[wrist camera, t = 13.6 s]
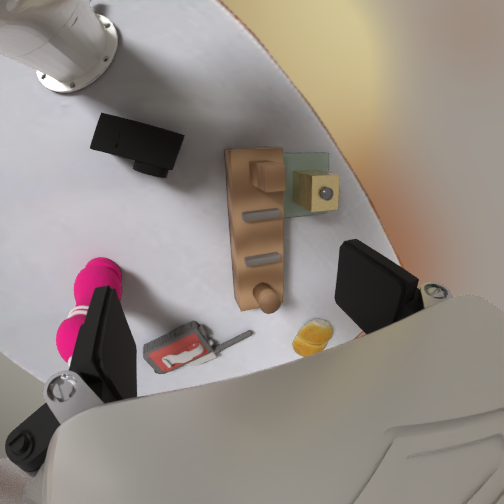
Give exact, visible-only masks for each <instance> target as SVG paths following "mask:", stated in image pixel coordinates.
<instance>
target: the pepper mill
mask: <svg viewBox="0 0 504 504" xmlns="http://www.w3.org/2000/svg"><path fill="white" fill-rule="evenodd" d="M121 280H122V275H121V271H120V269H119V267H118V266H117V265H116V264H115V263H114V262H113V261H111V260H109V259H107V258H102V257H99V258H95V259H92V260H91V261H89V262H88V264H87V265H86V267H85V268H84V269H83V270H81V271H80V273H79V274H78V275H77V277H76V280H75V284H74V296H75V300H76V307H75V308H73V309H72V310H71V311H70V312H69V315H68V317H67V319H66V320H64V321H63V322H62V323H61V325H60V326H59V328H58V331H57V335H56V345H57V349H58V351H59V353H60V355H61V357H62V358H63V359H64V360H65V361H66V362H67V363H68V366H69V367H70V363H71V359H72V355H73V351H74V347H75V343H76V339H77V336H78V332H79V329H80V326H81V324H84V321H85V318H86V315H87V311H88V308H89V305H90V302H91V298H92V295H93V292H94V289H95V288H96V287H102V286H107V285H109V286H110V287H111V289H112V288H115V289H116V291H117V294H118V297H119V300H120V299H121V296H122V287H121Z"/></svg>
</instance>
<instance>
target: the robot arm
mask: <svg viewBox="0 0 504 504" xmlns="http://www.w3.org/2000/svg"><path fill="white" fill-rule="evenodd" d="M90 2H91V0H0V54H2V55H4V56H6V57H9V58H11V59H13V60H15V61H17V62H20V63H22V64H24V65H26V66H28V67H30V68H32V69H35V70H36V72H37V76H38V78H39V80H40V82H41V83H42V84H43V85H44V86H45V87H46V88H48V89H50V90H52V91H55V92H60V93H69V92H73V91H77V90H80V89H82V88H84V87H86V86H88V85H89V84H91V83H93V82H94V81H95V80H96V79H98V78H99V77H100V76H101V75H102V74H103V73H104V72H105V71H106V69H107V68H108V67H109V65H110V64H111V62H112V60H113V58H114V56H115V53H116V50H117V46H118V34H117V31H116V28H115V26H114V24H113V23H112V22H111V21H110V20H109V19H108V18H106V17H105V16H103V15H100V14H95V13H94V11H93V10H92V7H91V6H90ZM108 27H109V28H108ZM106 59H108V61H106V62H105V60H106ZM45 77H46V78H45ZM75 84H76V85H75ZM74 85H75V87H73V86H74ZM418 281H419V279H418V278H417V277H415V276H413V275H412V274H411V273H409V272H408V271H406V270H405V269H403V268H402V267H400V266H399V265H397V264H395V263H394V262H392V261H391V260H389V259H388V258H386V257H385V256H383V255H382V254H380V253H378V252H377V251H375V250H374V249H372V248H370V247H369V246H367V245H366V244H364V243H362V242H361V241H359V240H357V239H352V240H347V241H344V242H343V244H342V245H341V246H340V251H339V262H338V272H337V281H336V290H335V301H336V303H337V305H338V306H339V307H340V308H341V309H342V310H343V311H344V312H345V313H346V314H347V315H348V316H349V317H350V318H351V319H352V320H353V321H354V322H355V323H356V324H357V325H358V326H359V327H360V328H361V329H362V330H363V331H364V332H365V333H366V335H364V336H361V337H359V338H356V339H354V340H351V341H348V342H346V343H343V344H341V345H338V346H335V347H332V348H330V349H327V350H324V351H321V352H318V353H315V354H313V355H310V356H307V357H304V358H301V359H297V360H294V361H291V362H288V363H285V364H281V365H278V366H275V367H271V368H268V369H264V370H261V371H257V372H254V373H250V374H246V375H242V376H238V377H234V378H230V379H226V380H222V381H218V382H213V383H209V384H204V385H200V386H195V387H190V388H185V389H179V390H174V391H168V392H162V393H157V394H152V395H146V396H141V397H137V374H136V355H137V350H136V344H135V341H134V339H133V336H132V333H131V331H130V328H129V326H128V323H127V320H126V318H125V315H124V312H123V309H122V306H121V303H120V300H119V297H118V294H117V291H116V289H115V288H112V289H111V287H110V286H109V285H107V286H102V287H96V288H95V289H94V292H93V295H92V298H91V302H90V305H89V308H88V311H87V315H86V318H85V321H84V324H81V326H80V329H79V332H78V336H77V339H76V343H75V347H74V351H73V355H72V359H71V363H70V367H69V371H61V372H58V373H56V374H54V375H53V376H51V377H50V378H49V379H48V380H47V382H46V383H45V386H44V389H43V396H44V399H45V401H46V403H45V404H44V405H43V406H41V407H40V408H39V409H38V410H37V411H35V412H34V413H33V414H32V415H31V416H29V417H28V418H27V419H26V420H25V421H24V422H22V423H21V424H20V425H19V426H18V427H16V429H14V430H13V431H12V432H11V433H10V434H9V436H8V438H7V440H6V444H5V450H6V454H7V458H6V460H4V459H3V458H1V460H0V504H504V312H503V311H501V310H500V309H499V308H497V307H496V306H494V305H493V304H492V303H490V302H488V301H487V300H485V299H483V298H481V297H479V296H471V295H466V296H457V297H452V294H451V292H450V290H449V289H448V288H447V287H446V286H444V285H442V284H439V283H436V282H425V283H423V284H422V285H421V287H420V290H419V289H418V288H417V285H418Z"/></svg>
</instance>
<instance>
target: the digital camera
mask: <svg viewBox="0 0 504 504" xmlns="http://www.w3.org/2000/svg"><path fill="white" fill-rule="evenodd" d="M184 136H185V135H182V134H179V133H175V132H172V131H169V130H165V129H162V128H158V127H155V126H151V125H148V124H144V123H141V122H137V121H133V120H129V119H125V118H121V117H117V116H113V115H109V114H105V113H101V115H100V118H99V121H98V124H97V127H96V130H95V133H94V136H93V139H92V142H91V146H90V148H91V149H93V150H97V151H101V152H105V153H109V154H113V155H117V156H121V157H125V158H128V159H132V160H135V162H134V165H133V169H134V170H136V171H138V172H141V173H144V174H148V175H152V176H156V177H161V178H166V177H167V174H168V171H169V170H172V169H173V167H174V164H175V161H176V158H177V155H178V152H179V150H180V147H181V144H182V141H183V139H184Z"/></svg>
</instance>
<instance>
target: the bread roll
mask: <svg viewBox="0 0 504 504" xmlns="http://www.w3.org/2000/svg"><path fill="white" fill-rule="evenodd" d="M332 334H333V329H332V327H331V325H330V324H329V322H328V321H325V320H322V319H313V320H311V321H309V322H308V323H306V324H305V325H303V326H302V328H301V329H300V330H299V332H298V334H297V336H296V337H295V339H294V340H293V343H292V345H293V348H294V350H295V352H296V353H297V354H299V355H301V356H303V357H307V356H310V355H313V354H315V353H318V352H321V351H322V350H323V349H324V348H325V346H326V344H327V342H328V340H329V339H330V338H331V337H332Z"/></svg>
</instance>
